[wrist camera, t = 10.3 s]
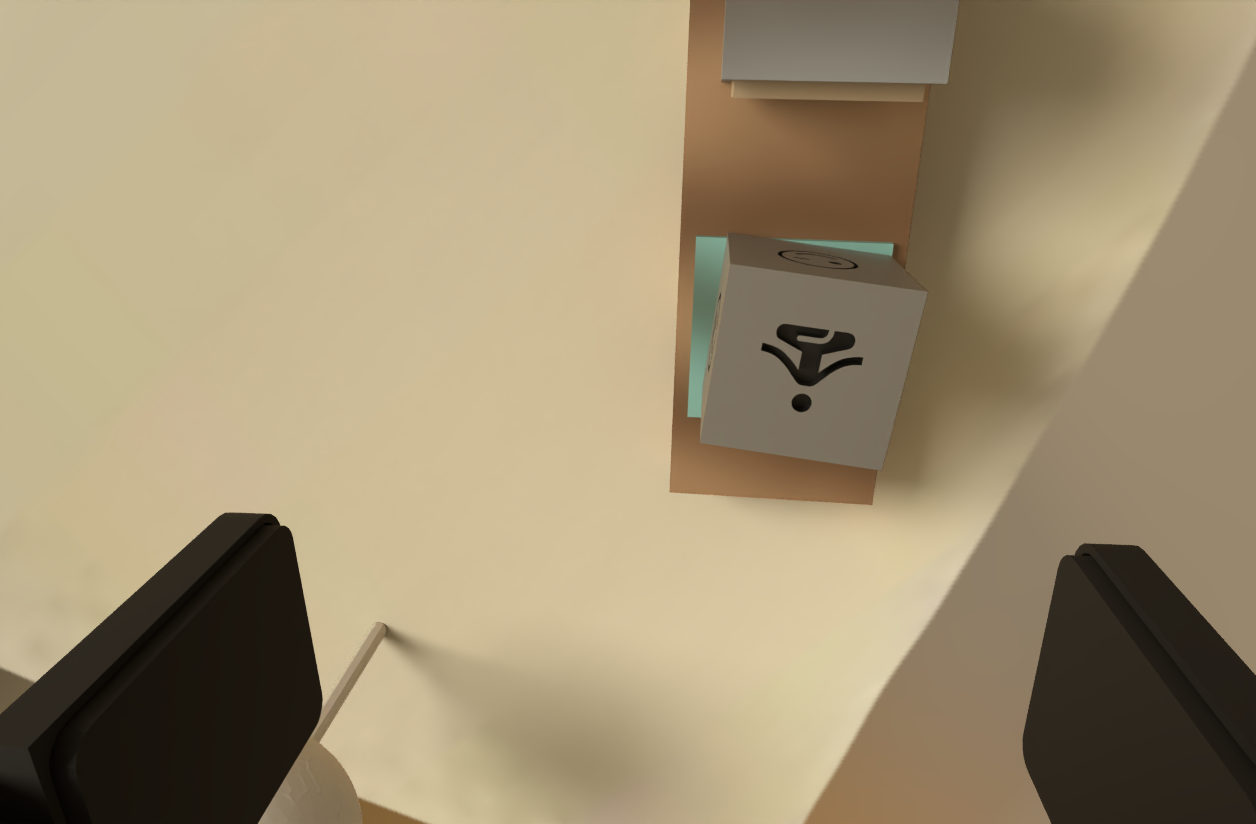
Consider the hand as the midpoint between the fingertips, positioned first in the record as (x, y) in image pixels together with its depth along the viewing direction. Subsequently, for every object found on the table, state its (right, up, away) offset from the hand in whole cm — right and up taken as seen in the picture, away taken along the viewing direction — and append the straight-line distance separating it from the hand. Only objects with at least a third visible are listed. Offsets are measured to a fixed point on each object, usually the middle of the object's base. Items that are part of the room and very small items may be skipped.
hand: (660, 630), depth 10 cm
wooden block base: (+5, +10, +18) cm, 21 cm away
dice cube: (+5, +6, +17) cm, 18 cm away
